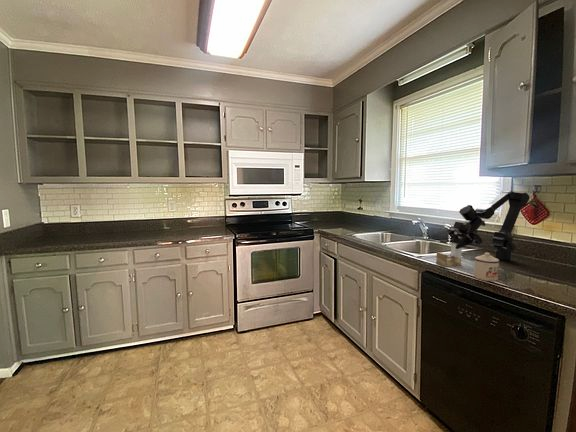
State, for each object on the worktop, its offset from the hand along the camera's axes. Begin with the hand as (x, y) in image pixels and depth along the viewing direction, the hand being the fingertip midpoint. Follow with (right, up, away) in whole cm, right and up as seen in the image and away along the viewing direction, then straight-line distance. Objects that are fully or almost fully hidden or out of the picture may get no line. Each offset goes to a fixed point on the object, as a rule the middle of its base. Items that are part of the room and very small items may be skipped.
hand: (454, 247), depth 150 cm
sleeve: (-3, -9, 0) cm, 9 cm away
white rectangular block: (+2, -8, +1) cm, 8 cm away
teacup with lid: (+1, -11, -23) cm, 26 cm away
